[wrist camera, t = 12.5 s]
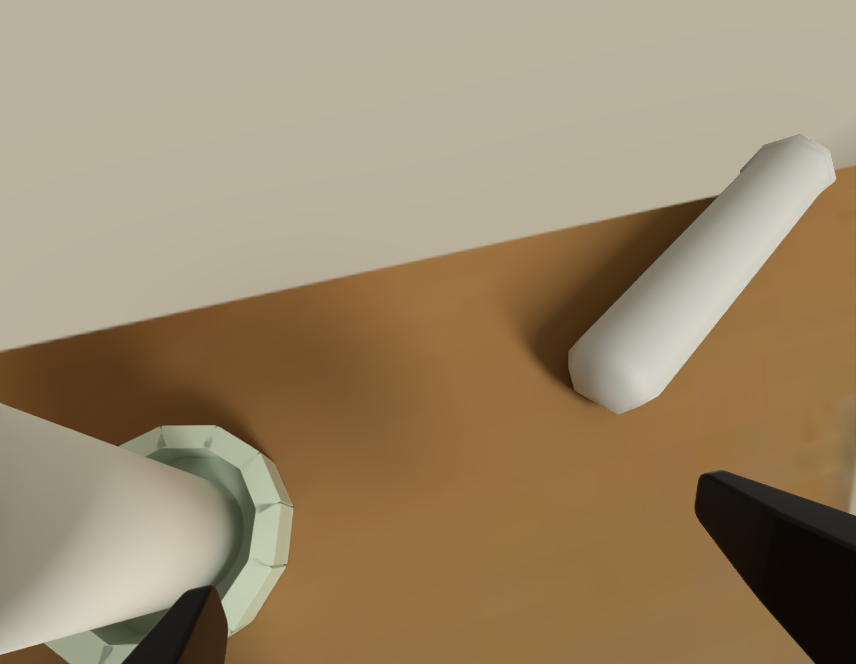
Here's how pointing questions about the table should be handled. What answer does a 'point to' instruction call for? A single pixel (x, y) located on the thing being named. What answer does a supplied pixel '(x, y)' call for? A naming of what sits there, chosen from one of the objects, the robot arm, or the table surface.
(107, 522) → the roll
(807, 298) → the table surface
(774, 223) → the tube
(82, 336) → the table surface
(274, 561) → the holder
